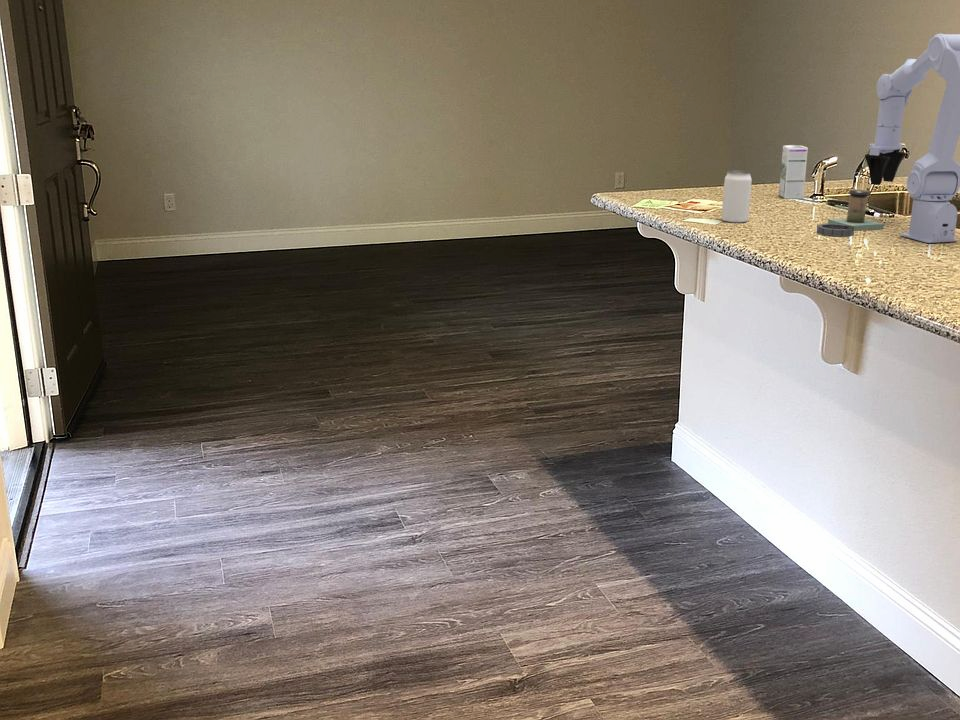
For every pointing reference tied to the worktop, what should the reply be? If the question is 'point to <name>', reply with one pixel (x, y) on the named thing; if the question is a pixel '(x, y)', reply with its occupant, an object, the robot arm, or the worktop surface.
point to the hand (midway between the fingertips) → (881, 183)
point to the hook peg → (857, 205)
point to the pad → (858, 224)
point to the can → (736, 197)
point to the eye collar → (835, 230)
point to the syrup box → (793, 172)
